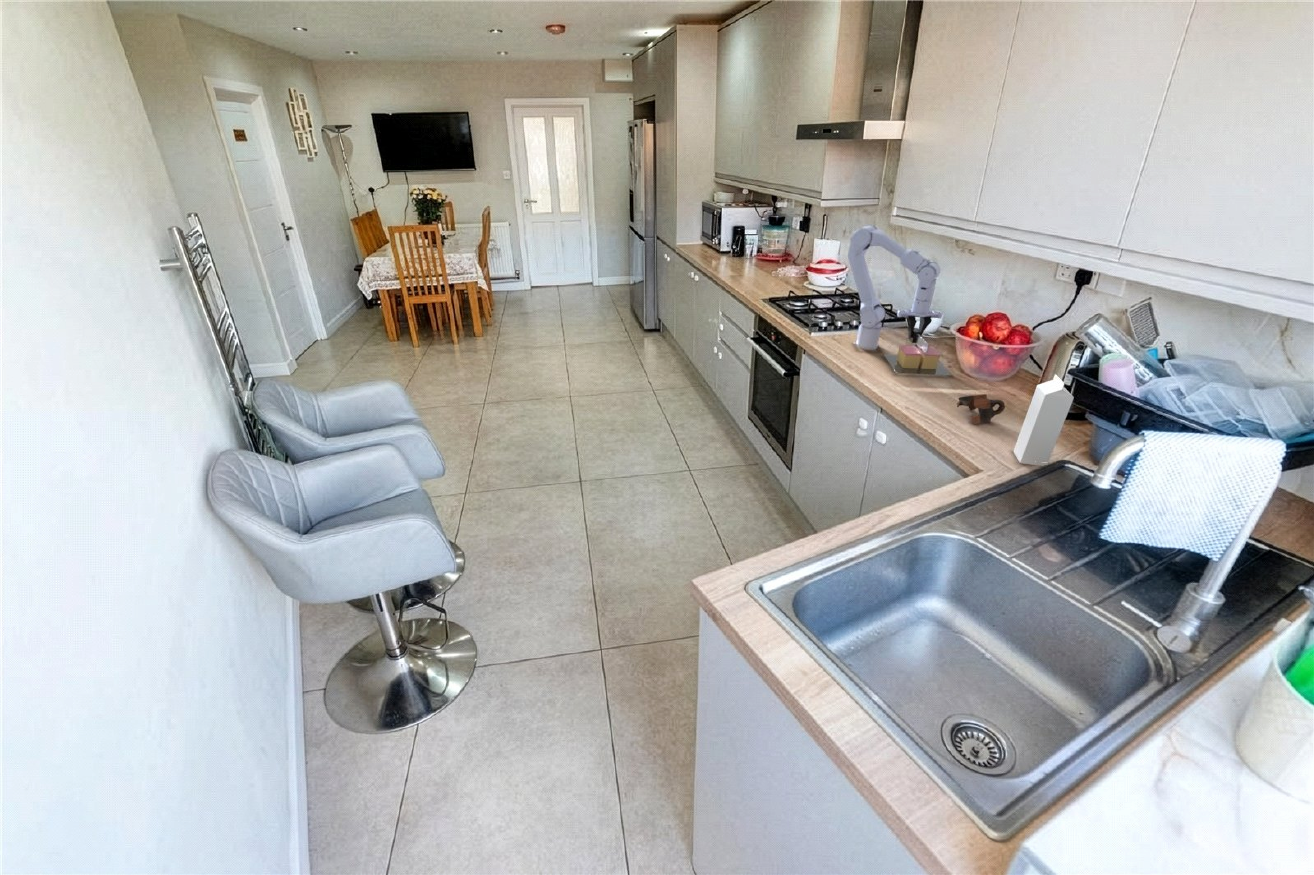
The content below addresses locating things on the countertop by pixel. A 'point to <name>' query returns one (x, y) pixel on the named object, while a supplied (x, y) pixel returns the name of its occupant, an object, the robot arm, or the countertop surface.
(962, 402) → the pottery mug
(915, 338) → the knife
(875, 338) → the robot arm
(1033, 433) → the milk
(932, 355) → the cake slice
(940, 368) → the board
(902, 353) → the cake half
